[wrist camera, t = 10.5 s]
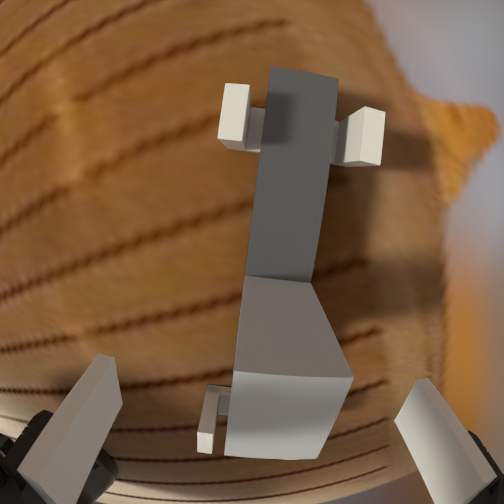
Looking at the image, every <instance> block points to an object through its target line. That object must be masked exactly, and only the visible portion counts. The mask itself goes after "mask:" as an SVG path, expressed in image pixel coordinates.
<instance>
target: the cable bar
mask: <svg viewBox="0 0 504 504" xmlns="http://www.w3.org/2000/svg"><path fill="white" fill-rule="evenodd" d="M338 81H339V79H337V78H332V77H328V76H323V75H318V74H313V73H308V72H302V71H296V70H290V69H283V68H276V67H271V71H270V78H269V86H268V94H267V101H266V109H265V117H264V125H263V133H262V141H261V148H260V156H259V164H258V172H257V180H256V188H255V196H254V204H253V212H252V220H251V229H250V237H249V245H248V253H247V261H246V269H245V278H244V286H243V294H242V303H241V311H240V319H239V328H238V336H237V344H236V353H235V361H234V370H233V378H232V387H231V396H230V404H229V413H228V421H227V430H226V439H225V448H224V450H225V452H224V455H228V456H237V457H249V458H265V459H317V457H318V455H319V453H320V451H321V449H322V447H323V445H324V443H325V441H326V439H327V437H328V435H329V433H330V431H331V429H332V427H333V425H334V423H335V420H336V418H337V416H338V414H339V412H340V409H341V407H342V405H343V403H344V400H345V398H346V395H347V393H348V391H349V388H350V386H351V383H352V381H353V378H354V377H353V375H352V372H351V370H350V368H349V365H348V363H347V361H346V359H345V356H344V354H343V352H342V350H341V347H340V345H339V343H338V341H337V338H336V336H335V334H334V332H333V330H332V328H331V325H330V323H329V321H328V319H327V317H326V315H325V312H324V310H323V308H322V306H321V304H320V302H319V300H318V297H317V295H316V293H315V291H314V289H313V287H312V285H311V278H312V273H313V268H314V263H315V257H316V252H317V246H318V241H319V235H320V229H321V223H322V217H323V210H324V204H325V197H326V190H327V183H328V176H329V168H330V161H331V152H332V144H333V135H334V126H335V116H336V105H337V94H338Z"/></svg>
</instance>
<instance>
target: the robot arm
mask: <svg viewBox="0 0 504 504" xmlns="http://www.w3.org/2000/svg"><path fill="white" fill-rule="evenodd" d="M122 404H123V402H122V397H121V392H120V387H119V382H118V376H117V370H116V363H115V358H114V357H110V356H106V355H103V354H98V355H97V356H96V358H95V359H94V360H93V361H92V363H91V364H90V365H89V367H88V368H87V369H86V371H85V372H84V373H83V375H82V376H81V377H80V379H79V380H78V381H77V383H76V384H75V385H74V387H73V388H72V389H71V391H70V392H69V394H68V395H67V396H66V398H65V399H64V401H63V402H62V403H61V405H60V406H59V408H58V409H57V410H56V412H55V413H54V414H53V413H51V412H49V411H46V410H43V411H41V412H40V413H38V414H36V415H35V416H34V417H33V418H32V419H31V421H30V422H29V423H28V425H27V427H25V429H24V430H23V432H22V434H20V436H19V437H18V439H17V440H16V441H15V443H14V444H13V446H12V447H11V449H10V450H9V451H8V453H7V454H6V456H5V455H4V454H3V453H2V451H1V450H0V504H93V502H95V501H96V500H97V499H98V498H99V497H100V496H101V495H102V494H103V493H104V492H105V491H106V490H107V489H108V488H109V487H110V486H111V485H112V484H113V483H114V481H115V478H116V476H117V473H118V469H117V466H116V464H115V463H114V461H113V460H112V459H111V458H110V457H109V455H108V454H107V453H106V452H104V451H103V450H102V449H101V447H102V445H103V443H104V441H105V439H106V437H107V435H108V433H109V431H110V429H111V427H112V425H113V422H114V420H115V418H116V416H117V414H118V412H119V410H120V408H121V406H122ZM394 421H395V423H396V425H397V427H398V429H399V431H400V433H401V435H402V437H403V439H404V441H405V443H406V445H407V447H408V449H409V451H410V453H411V455H412V457H413V459H414V461H415V463H416V465H417V467H418V469H419V471H420V473H421V475H422V477H423V480H424V482H425V484H426V486H427V488H428V490H429V492H430V495H431V497H432V499H433V501H434V503H435V504H504V474H503V473H502V472H501V471H500V469H499V468H498V466H497V464H496V463H495V461H494V460H493V458H492V457H491V456H490V454H489V453H488V452H487V450H486V448H485V447H484V446H483V444H482V443H481V441H480V439H479V438H478V437H477V436H476V435H475V434H473V433H472V432H471V431H467V430H466V429H465V428H464V426H463V425H462V423H461V422H460V420H459V419H458V418H457V416H456V415H455V414H454V412H453V411H452V409H451V408H450V407H449V405H448V404H447V402H446V401H445V400H444V398H443V397H442V396H441V394H440V393H439V392H438V390H437V389H436V388H435V387H434V385H433V384H432V383H431V381H430V380H429V379H428V378H427V379H418V380H416V381H415V383H414V385H413V387H412V389H411V391H410V393H409V395H408V397H407V399H406V401H405V403H404V404H403V406H402V408H401V410H400V412H399V413H398V415H397V417H396V419H395V420H394Z"/></svg>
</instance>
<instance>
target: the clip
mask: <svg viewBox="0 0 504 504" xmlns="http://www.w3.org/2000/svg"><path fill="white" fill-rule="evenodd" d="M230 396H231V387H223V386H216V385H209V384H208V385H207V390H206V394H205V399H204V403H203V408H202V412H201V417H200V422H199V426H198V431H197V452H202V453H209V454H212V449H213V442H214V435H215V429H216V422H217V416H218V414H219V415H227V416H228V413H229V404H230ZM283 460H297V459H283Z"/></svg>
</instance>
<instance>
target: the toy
mask: <svg viewBox="0 0 504 504" xmlns="http://www.w3.org/2000/svg"><path fill="white" fill-rule="evenodd" d="M13 444H14V443H13V442H12V441H11V440H10V438H9V437H6V436H4V435H1V434H0V450H1V451H2V453H3V454H4V455H5V456H6V454H7V453H8V451H9V450H10V449H11V447H12V446H13Z"/></svg>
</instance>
